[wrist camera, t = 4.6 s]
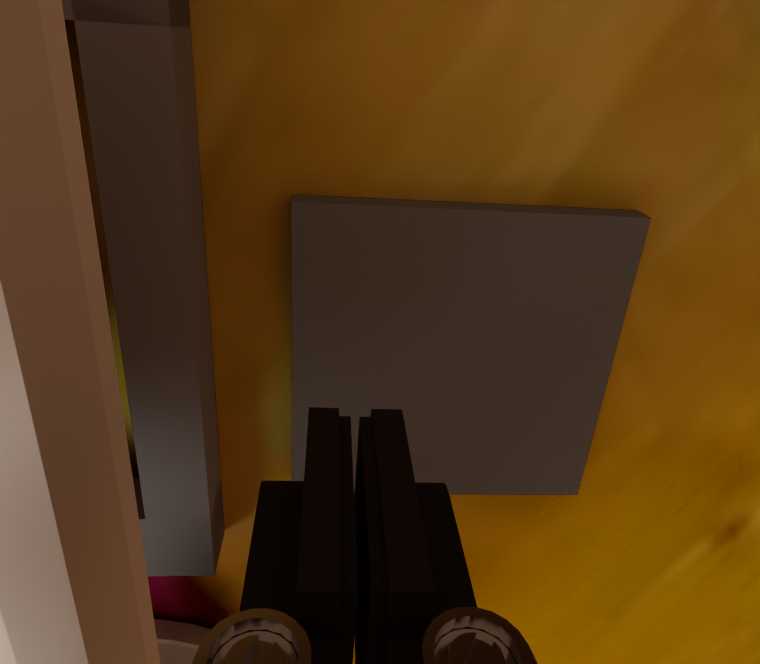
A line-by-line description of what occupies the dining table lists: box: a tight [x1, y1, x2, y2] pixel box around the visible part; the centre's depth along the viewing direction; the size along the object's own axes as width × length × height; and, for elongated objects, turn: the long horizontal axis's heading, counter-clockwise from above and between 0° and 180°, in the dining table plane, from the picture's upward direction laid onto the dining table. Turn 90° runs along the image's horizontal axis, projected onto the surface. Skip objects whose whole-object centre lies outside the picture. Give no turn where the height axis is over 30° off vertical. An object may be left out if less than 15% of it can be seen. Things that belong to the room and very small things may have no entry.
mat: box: [291, 195, 651, 495], centre depth 19 cm, size 10×10×1 cm
